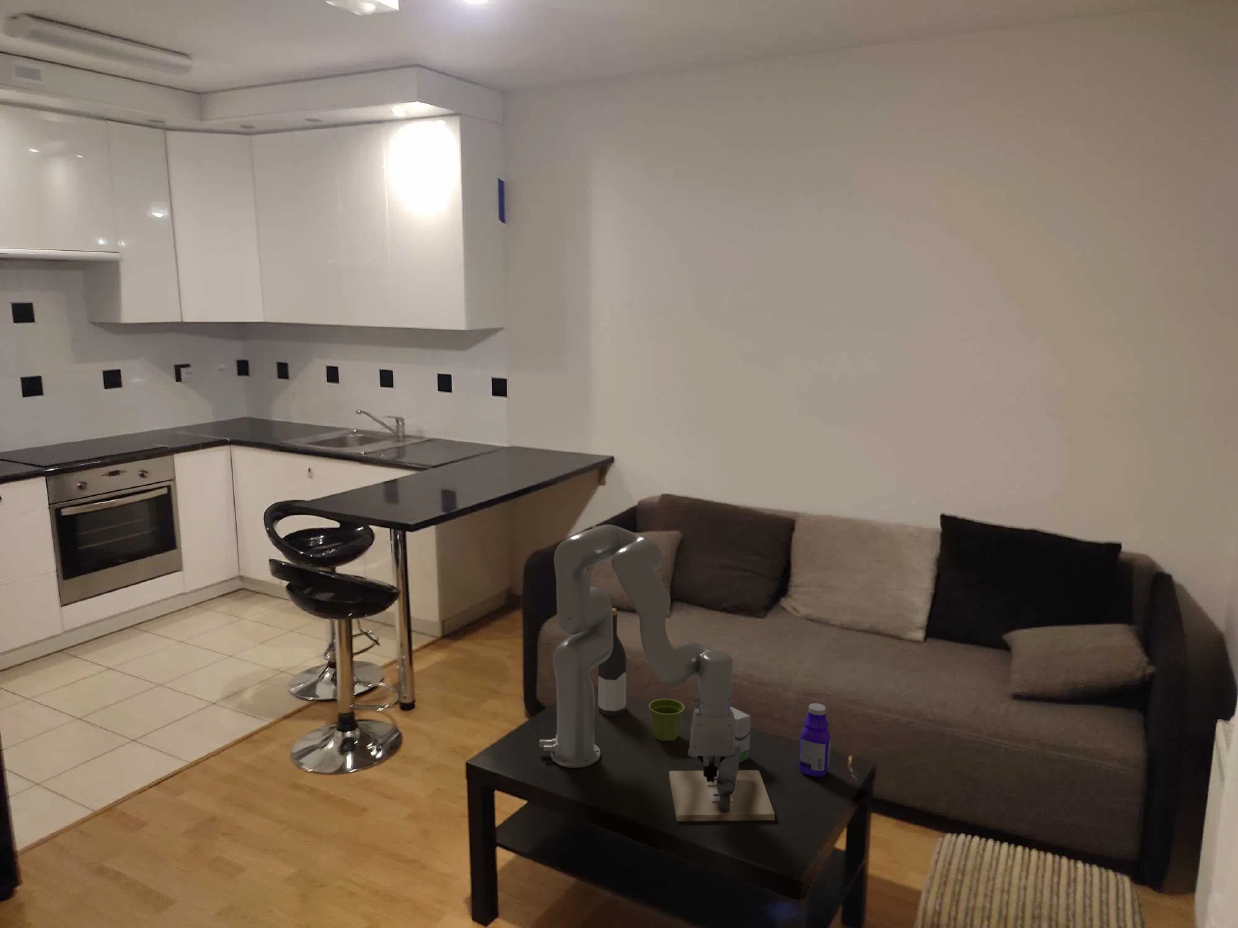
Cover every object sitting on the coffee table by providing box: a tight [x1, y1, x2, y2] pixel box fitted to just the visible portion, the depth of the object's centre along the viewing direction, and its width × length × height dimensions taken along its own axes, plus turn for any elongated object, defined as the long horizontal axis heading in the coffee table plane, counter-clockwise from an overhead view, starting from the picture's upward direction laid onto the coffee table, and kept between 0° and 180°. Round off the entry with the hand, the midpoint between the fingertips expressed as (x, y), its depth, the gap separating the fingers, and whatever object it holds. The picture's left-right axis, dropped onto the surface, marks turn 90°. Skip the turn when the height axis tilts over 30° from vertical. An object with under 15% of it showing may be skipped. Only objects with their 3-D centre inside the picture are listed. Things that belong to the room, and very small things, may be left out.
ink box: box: [730, 706, 751, 764], centre depth 227 cm, size 9×5×12 cm, turn 39°
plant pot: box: [648, 698, 685, 742], centre depth 237 cm, size 9×9×9 cm
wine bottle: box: [597, 607, 627, 717], centre depth 250 cm, size 8×8×30 cm
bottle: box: [798, 703, 832, 778], centre depth 219 cm, size 7×6×17 cm
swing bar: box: [717, 746, 741, 796], centre depth 208 cm, size 4×19×2 cm, turn 167°
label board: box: [668, 769, 776, 822], centre depth 208 cm, size 22×19×6 cm
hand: (709, 778), depth 206 cm, fingers closed
